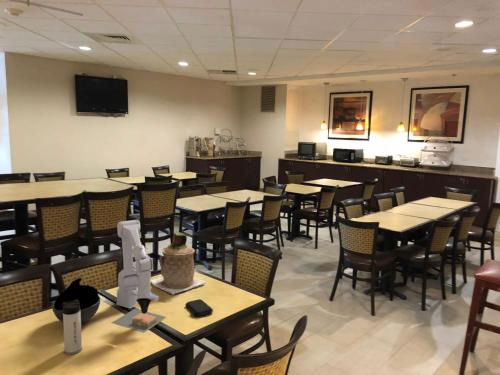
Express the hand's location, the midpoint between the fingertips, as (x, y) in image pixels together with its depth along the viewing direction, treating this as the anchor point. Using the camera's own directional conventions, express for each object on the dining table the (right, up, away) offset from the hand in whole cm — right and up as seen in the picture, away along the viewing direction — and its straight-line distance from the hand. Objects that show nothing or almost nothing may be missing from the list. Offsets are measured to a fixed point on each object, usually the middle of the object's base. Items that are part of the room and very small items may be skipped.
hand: (144, 312), depth 173 cm
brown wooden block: (-4, -3, +2) cm, 6 cm away
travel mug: (-23, -8, -22) cm, 32 cm away
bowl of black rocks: (-31, -5, +1) cm, 31 cm away
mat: (-3, -5, +3) cm, 7 cm away
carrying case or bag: (+22, -4, +15) cm, 28 cm away
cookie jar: (+6, +1, +47) cm, 48 cm away
